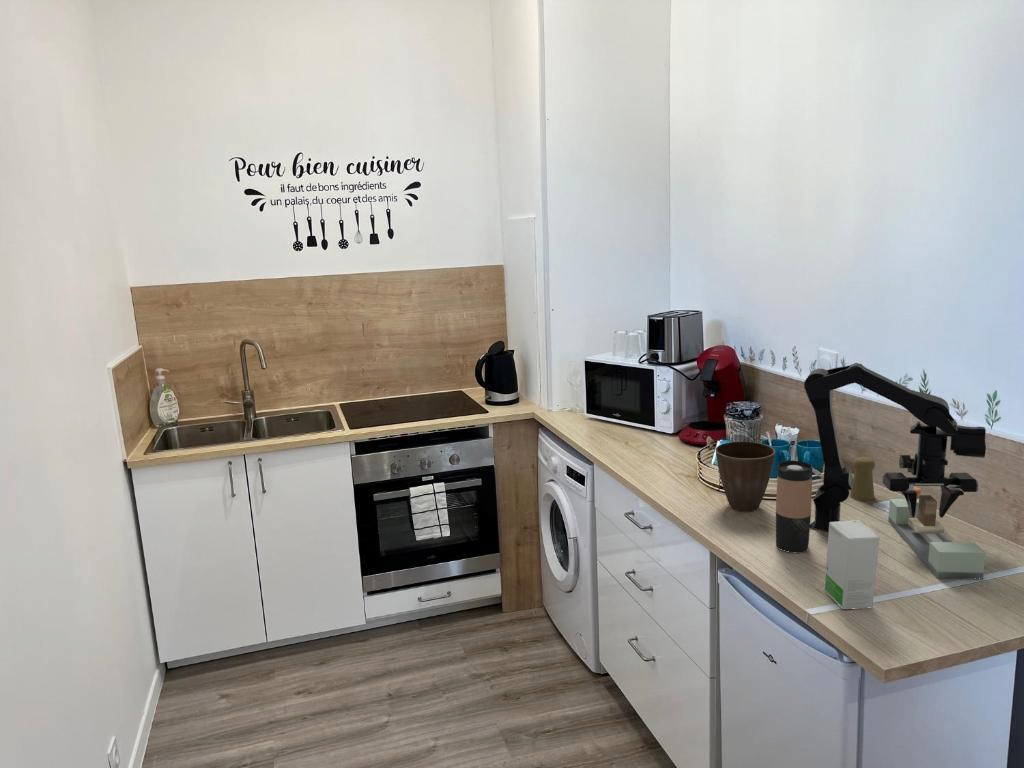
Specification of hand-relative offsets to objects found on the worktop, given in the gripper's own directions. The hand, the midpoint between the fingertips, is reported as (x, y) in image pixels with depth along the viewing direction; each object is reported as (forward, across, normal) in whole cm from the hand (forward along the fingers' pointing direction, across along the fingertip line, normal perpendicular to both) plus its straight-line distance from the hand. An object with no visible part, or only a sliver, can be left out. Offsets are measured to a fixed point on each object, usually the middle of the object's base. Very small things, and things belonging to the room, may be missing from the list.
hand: (926, 516), depth 177 cm
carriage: (+3, 0, 0) cm, 3 cm away
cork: (+6, +6, -28) cm, 29 cm away
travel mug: (+6, +31, +4) cm, 32 cm away
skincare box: (+6, +25, +29) cm, 39 cm away
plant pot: (+6, +38, -20) cm, 43 cm away
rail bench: (+6, 0, +4) cm, 7 cm away
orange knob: (0, 0, -8) cm, 8 cm away
